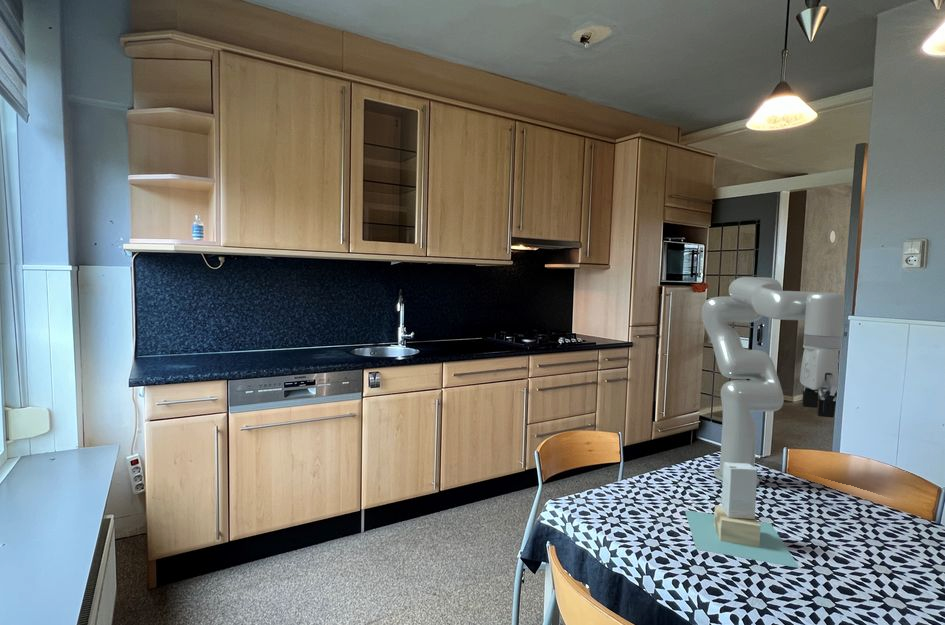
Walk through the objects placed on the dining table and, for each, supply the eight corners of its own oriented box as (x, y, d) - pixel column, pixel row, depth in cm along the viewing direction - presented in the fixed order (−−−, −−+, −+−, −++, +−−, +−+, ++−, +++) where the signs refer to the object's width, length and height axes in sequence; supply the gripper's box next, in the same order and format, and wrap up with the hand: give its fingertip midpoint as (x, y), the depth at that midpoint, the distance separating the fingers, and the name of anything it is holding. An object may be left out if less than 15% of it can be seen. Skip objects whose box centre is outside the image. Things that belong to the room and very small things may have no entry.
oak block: (713, 524, 117) (715, 505, 117) (750, 530, 115) (751, 510, 114) (720, 540, 109) (721, 519, 109) (759, 547, 107) (760, 526, 107)
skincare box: (746, 511, 114) (749, 462, 113) (755, 520, 109) (758, 469, 109) (719, 509, 114) (722, 460, 114) (727, 518, 110) (731, 467, 109)
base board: (684, 514, 125) (684, 509, 124) (770, 527, 119) (770, 523, 118) (695, 554, 105) (696, 549, 105) (799, 573, 100) (799, 567, 99)
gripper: (792, 338, 125) (787, 402, 125) (818, 345, 108) (813, 419, 109) (825, 340, 122) (820, 405, 123) (857, 348, 106) (851, 422, 107)
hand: (817, 411), depth 116 cm, fingers open, 9 cm apart
